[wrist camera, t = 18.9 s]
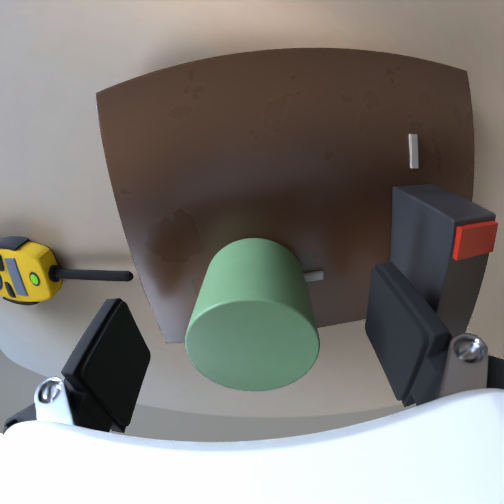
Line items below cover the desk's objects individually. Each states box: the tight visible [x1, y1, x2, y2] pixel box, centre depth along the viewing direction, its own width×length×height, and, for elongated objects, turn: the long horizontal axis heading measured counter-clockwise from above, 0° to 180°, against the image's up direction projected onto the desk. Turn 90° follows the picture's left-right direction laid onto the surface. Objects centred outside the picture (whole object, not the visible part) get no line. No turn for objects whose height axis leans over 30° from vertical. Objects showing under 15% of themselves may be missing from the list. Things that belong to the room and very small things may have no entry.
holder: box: [389, 184, 498, 337], centre depth 9 cm, size 7×2×4 cm, turn 9°
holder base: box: [95, 48, 474, 343], centre depth 12 cm, size 15×18×3 cm
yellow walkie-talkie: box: [0, 236, 133, 305], centre depth 13 cm, size 5×2×15 cm
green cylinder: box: [185, 238, 320, 391], centre depth 9 cm, size 4×4×4 cm
